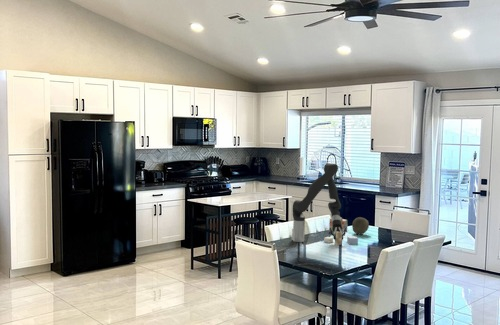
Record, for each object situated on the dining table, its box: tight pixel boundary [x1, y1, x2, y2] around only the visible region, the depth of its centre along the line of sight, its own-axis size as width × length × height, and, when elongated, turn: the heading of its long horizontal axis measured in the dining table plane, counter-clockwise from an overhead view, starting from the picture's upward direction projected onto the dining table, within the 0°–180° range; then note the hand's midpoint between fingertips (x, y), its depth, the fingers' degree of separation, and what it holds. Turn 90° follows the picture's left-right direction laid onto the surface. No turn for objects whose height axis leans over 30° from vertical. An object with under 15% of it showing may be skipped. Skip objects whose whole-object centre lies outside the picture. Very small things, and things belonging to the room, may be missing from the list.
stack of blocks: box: [328, 217, 348, 233], centre depth 435 cm, size 21×6×12 cm, turn 138°
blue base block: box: [346, 235, 359, 245], centre depth 386 cm, size 7×7×5 cm
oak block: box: [334, 231, 343, 246], centre depth 381 cm, size 4×4×10 cm
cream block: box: [323, 236, 334, 243], centre depth 389 cm, size 5×5×4 cm
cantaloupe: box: [351, 216, 370, 235], centre depth 422 cm, size 14×14×15 cm
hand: (338, 239), depth 379 cm, fingers open, 5 cm apart
